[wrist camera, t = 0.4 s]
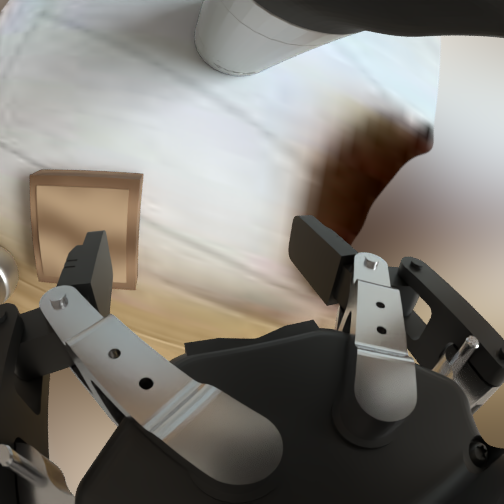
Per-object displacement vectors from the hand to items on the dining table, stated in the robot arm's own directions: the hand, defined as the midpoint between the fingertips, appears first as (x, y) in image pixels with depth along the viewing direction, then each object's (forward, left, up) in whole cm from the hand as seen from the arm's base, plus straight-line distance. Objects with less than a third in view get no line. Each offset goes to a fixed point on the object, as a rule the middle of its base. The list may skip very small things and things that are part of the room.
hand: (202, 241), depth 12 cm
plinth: (+7, -10, -19) cm, 23 cm away
